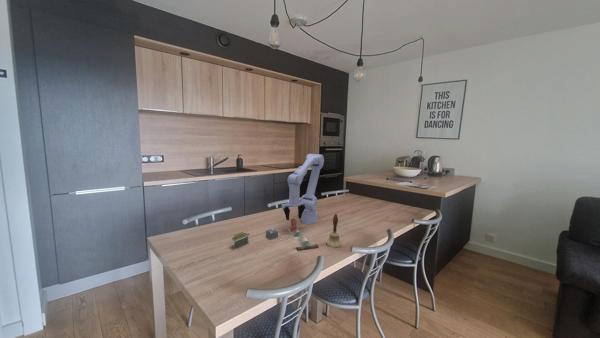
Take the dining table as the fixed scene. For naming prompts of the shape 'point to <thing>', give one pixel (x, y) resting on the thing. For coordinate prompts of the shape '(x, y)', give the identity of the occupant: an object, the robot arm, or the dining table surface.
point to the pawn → (293, 225)
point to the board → (305, 244)
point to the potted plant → (240, 239)
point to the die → (272, 234)
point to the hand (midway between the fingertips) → (293, 218)
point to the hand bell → (334, 235)
